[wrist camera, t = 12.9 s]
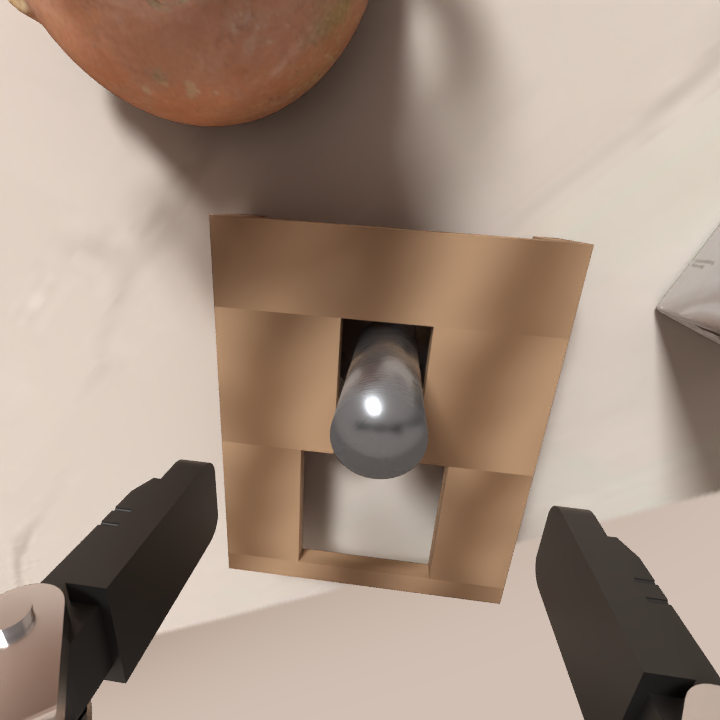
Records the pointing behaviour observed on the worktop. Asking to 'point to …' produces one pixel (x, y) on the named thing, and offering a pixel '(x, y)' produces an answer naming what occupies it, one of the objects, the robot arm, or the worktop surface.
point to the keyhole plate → (440, 390)
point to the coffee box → (698, 292)
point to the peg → (381, 398)
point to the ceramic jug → (202, 51)
